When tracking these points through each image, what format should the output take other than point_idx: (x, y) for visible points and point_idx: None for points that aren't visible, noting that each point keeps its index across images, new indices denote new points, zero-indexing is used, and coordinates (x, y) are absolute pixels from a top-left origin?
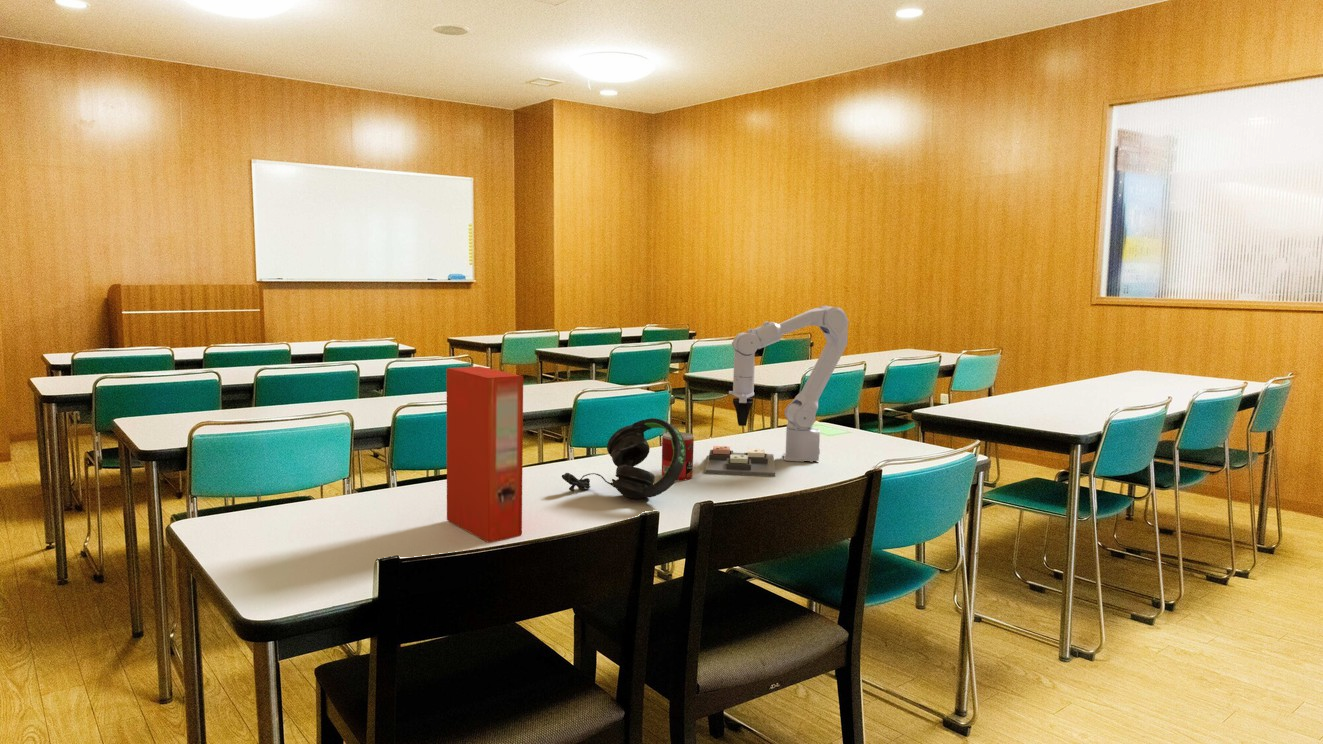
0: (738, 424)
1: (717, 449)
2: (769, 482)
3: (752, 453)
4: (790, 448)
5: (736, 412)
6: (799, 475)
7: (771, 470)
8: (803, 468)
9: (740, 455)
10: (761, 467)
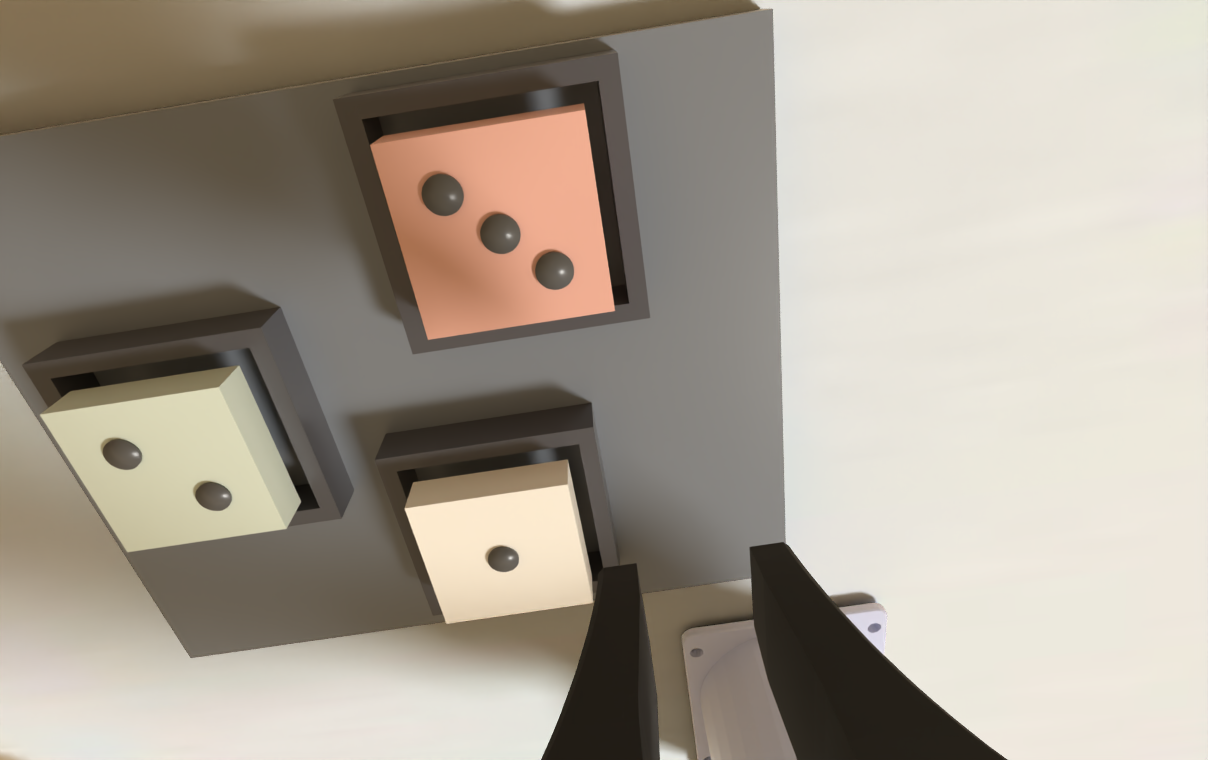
0: (601, 579)
1: (393, 204)
2: (26, 628)
3: (420, 539)
4: (734, 726)
5: (547, 754)
6: (327, 729)
7: (245, 631)
8: (522, 726)
9: (234, 477)
10: (297, 567)
